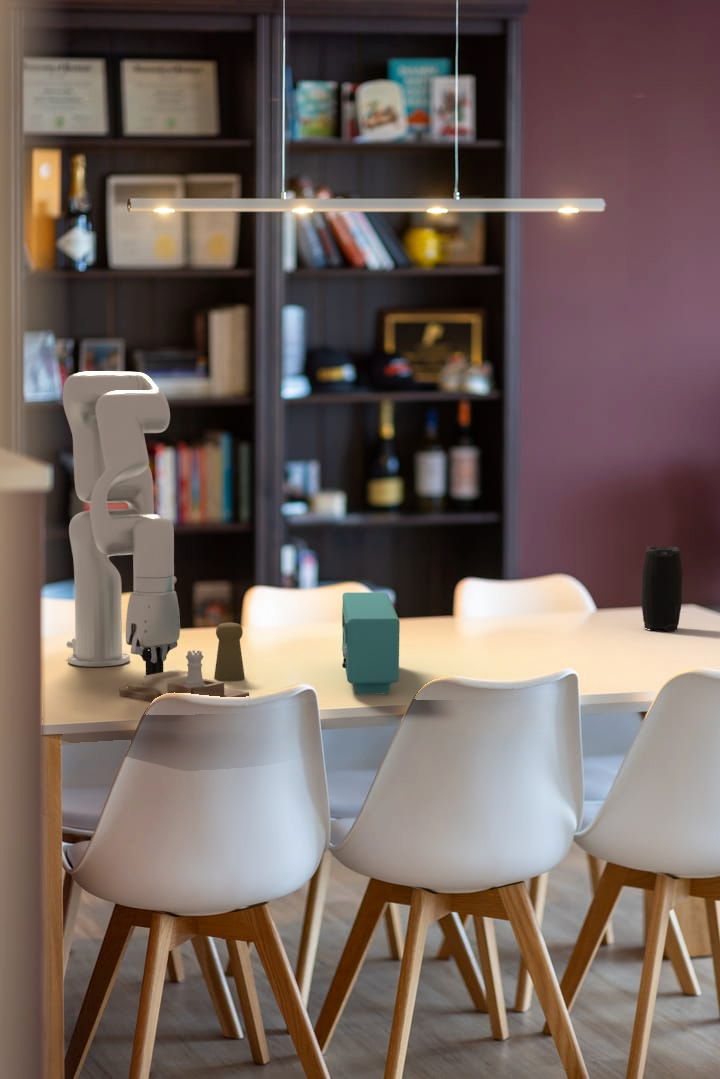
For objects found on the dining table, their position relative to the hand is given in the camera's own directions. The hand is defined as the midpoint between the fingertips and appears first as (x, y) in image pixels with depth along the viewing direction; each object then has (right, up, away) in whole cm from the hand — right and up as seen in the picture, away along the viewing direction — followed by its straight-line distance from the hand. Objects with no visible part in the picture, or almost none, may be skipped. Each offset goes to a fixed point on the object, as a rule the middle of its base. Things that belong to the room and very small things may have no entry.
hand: (154, 681), depth 278 cm
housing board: (+6, -3, -3) cm, 7 cm away
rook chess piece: (+8, -2, -7) cm, 11 cm away
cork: (+13, -1, +14) cm, 19 cm away
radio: (+40, -1, +14) cm, 42 cm away
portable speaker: (+110, +5, +74) cm, 132 cm away
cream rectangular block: (+4, -1, -3) cm, 5 cm away
